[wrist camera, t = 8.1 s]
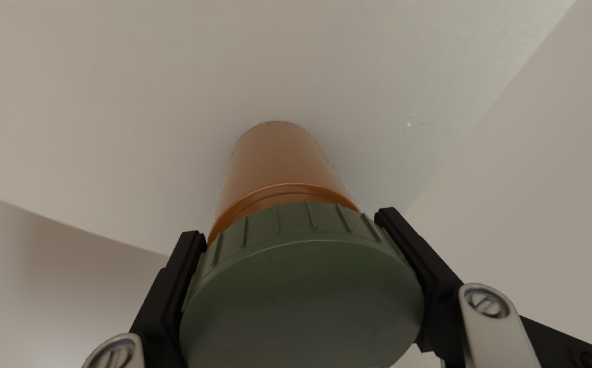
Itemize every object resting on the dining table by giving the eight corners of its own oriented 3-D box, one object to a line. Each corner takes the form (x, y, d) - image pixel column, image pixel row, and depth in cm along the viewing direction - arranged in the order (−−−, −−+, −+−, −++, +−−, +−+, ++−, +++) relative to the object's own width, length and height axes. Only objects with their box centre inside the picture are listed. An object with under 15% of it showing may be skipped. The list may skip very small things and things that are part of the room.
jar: (339, 153, 18) (424, 258, 9) (289, 218, 20) (314, 360, 11) (262, 101, 16) (265, 168, 7) (214, 179, 18) (162, 317, 8)
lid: (144, 281, 8) (113, 337, 6) (334, 152, 7) (356, 180, 5) (277, 372, 11) (280, 426, 9) (426, 293, 10) (458, 339, 8)
